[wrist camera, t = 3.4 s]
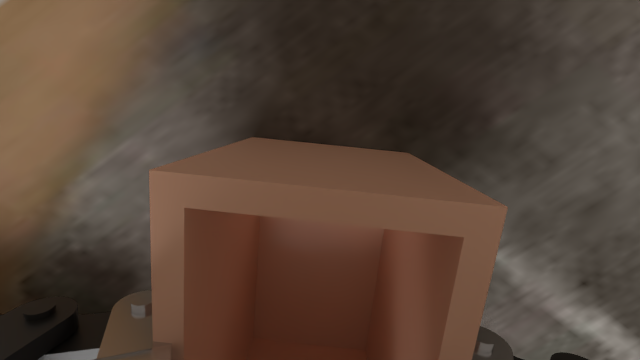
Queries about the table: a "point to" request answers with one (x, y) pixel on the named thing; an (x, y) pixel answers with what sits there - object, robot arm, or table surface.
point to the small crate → (318, 255)
